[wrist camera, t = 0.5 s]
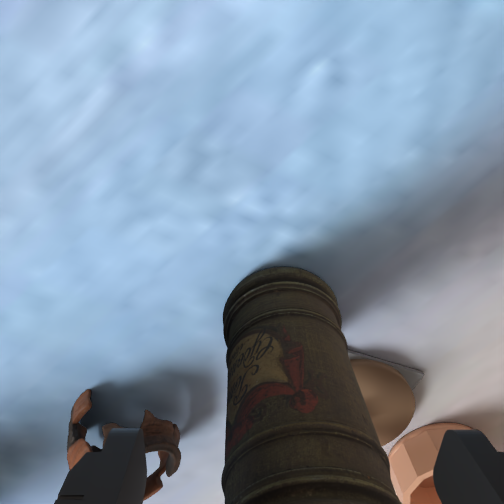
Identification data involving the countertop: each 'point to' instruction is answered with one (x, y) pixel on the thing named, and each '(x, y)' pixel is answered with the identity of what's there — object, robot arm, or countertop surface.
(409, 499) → the bowl
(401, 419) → the lid
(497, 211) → the countertop surface
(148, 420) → the pottery mug
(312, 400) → the container
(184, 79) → the countertop surface
